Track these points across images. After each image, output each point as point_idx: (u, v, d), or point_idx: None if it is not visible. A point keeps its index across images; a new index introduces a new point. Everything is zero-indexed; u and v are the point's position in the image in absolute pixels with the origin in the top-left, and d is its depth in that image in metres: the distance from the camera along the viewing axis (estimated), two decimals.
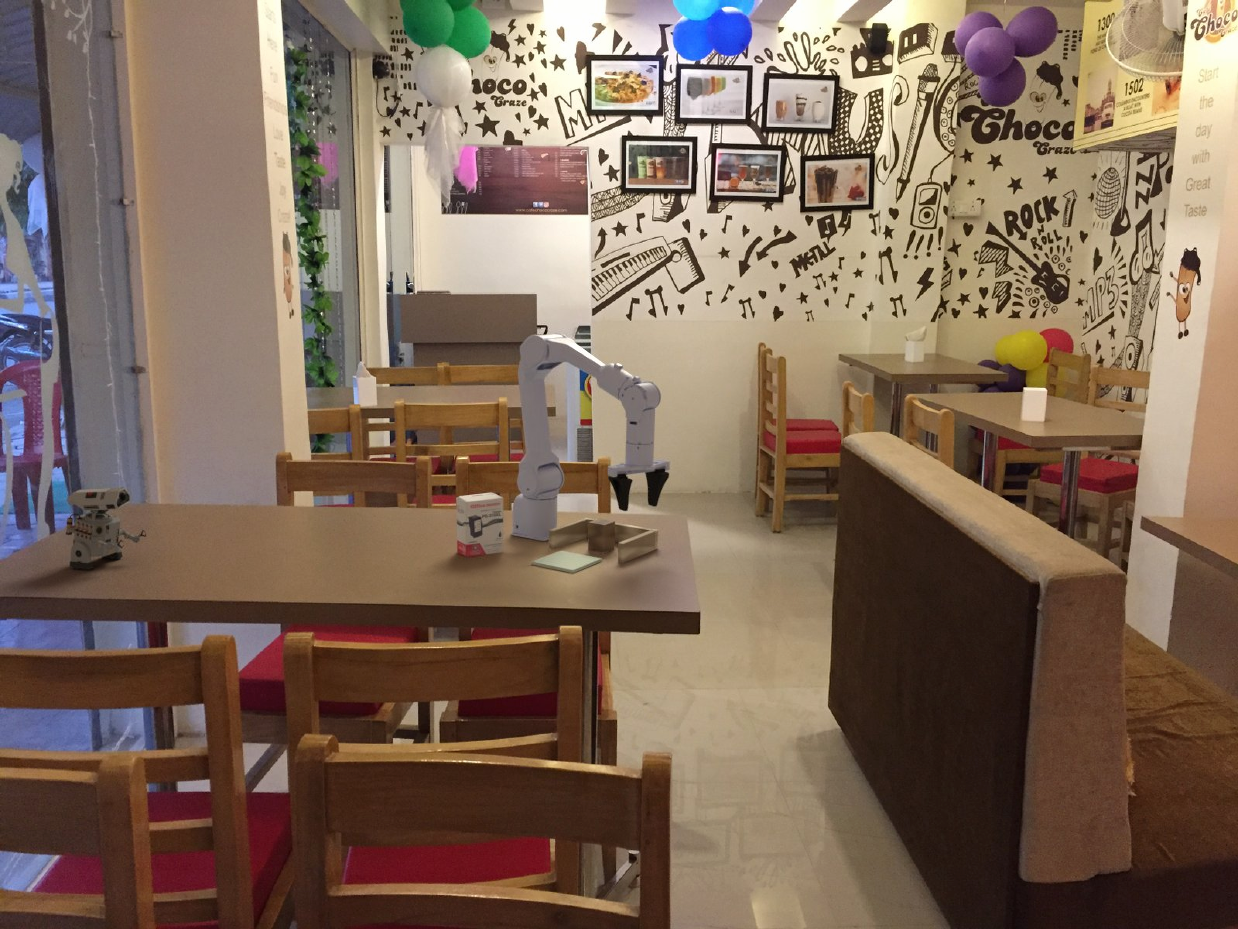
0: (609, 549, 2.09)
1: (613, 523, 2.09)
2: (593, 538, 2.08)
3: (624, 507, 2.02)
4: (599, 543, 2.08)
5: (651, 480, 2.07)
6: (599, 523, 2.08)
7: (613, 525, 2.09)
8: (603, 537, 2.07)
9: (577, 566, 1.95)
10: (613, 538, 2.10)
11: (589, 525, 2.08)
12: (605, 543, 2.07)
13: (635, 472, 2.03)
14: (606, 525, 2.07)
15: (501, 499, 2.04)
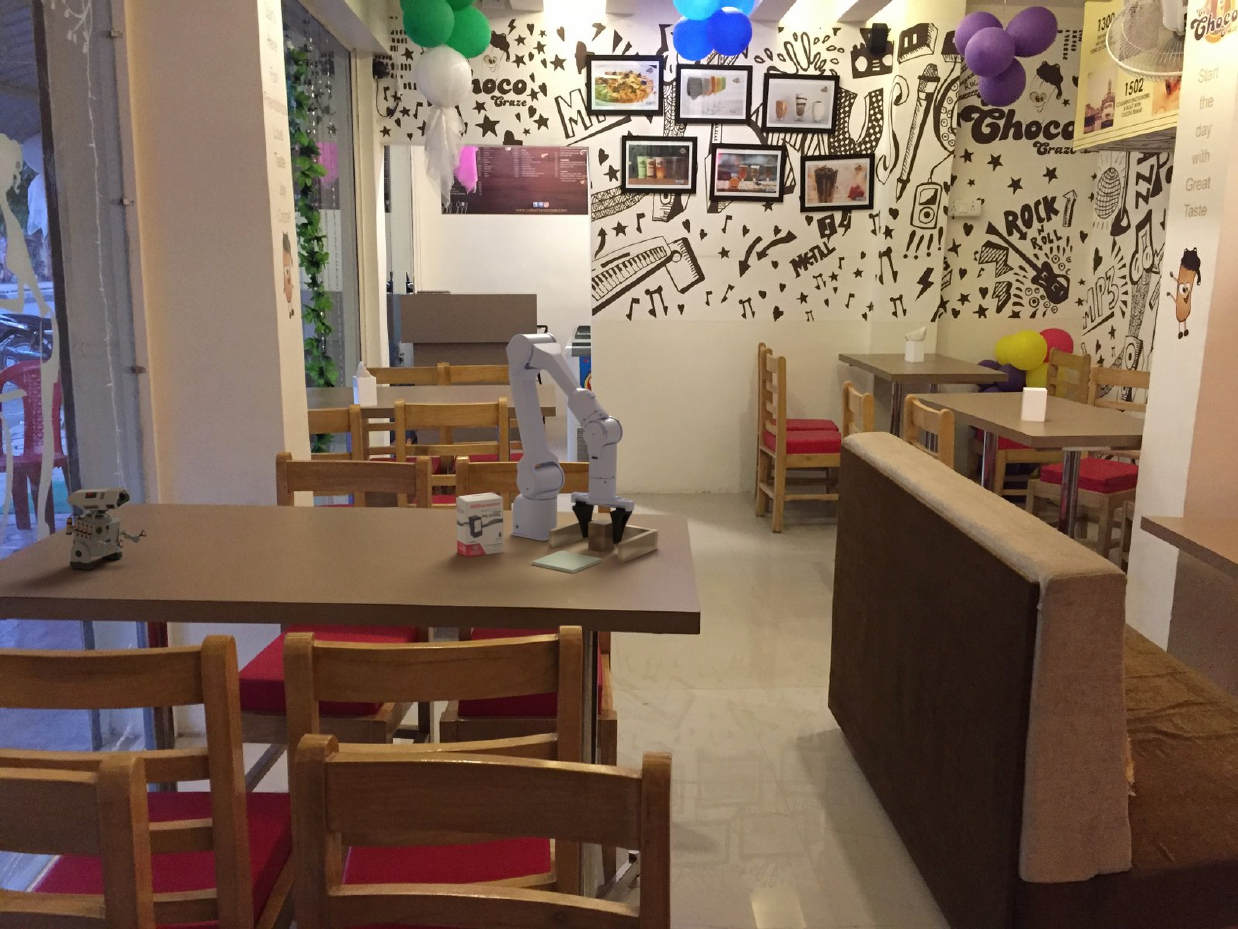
0: (609, 549, 2.09)
1: None
2: (593, 538, 2.08)
3: None
4: (599, 544, 2.08)
5: None
6: (599, 523, 2.08)
7: None
8: (603, 537, 2.07)
9: (577, 566, 1.95)
10: None
11: (589, 525, 2.08)
12: (605, 543, 2.07)
13: (596, 504, 2.09)
14: (606, 525, 2.07)
15: (501, 499, 2.04)
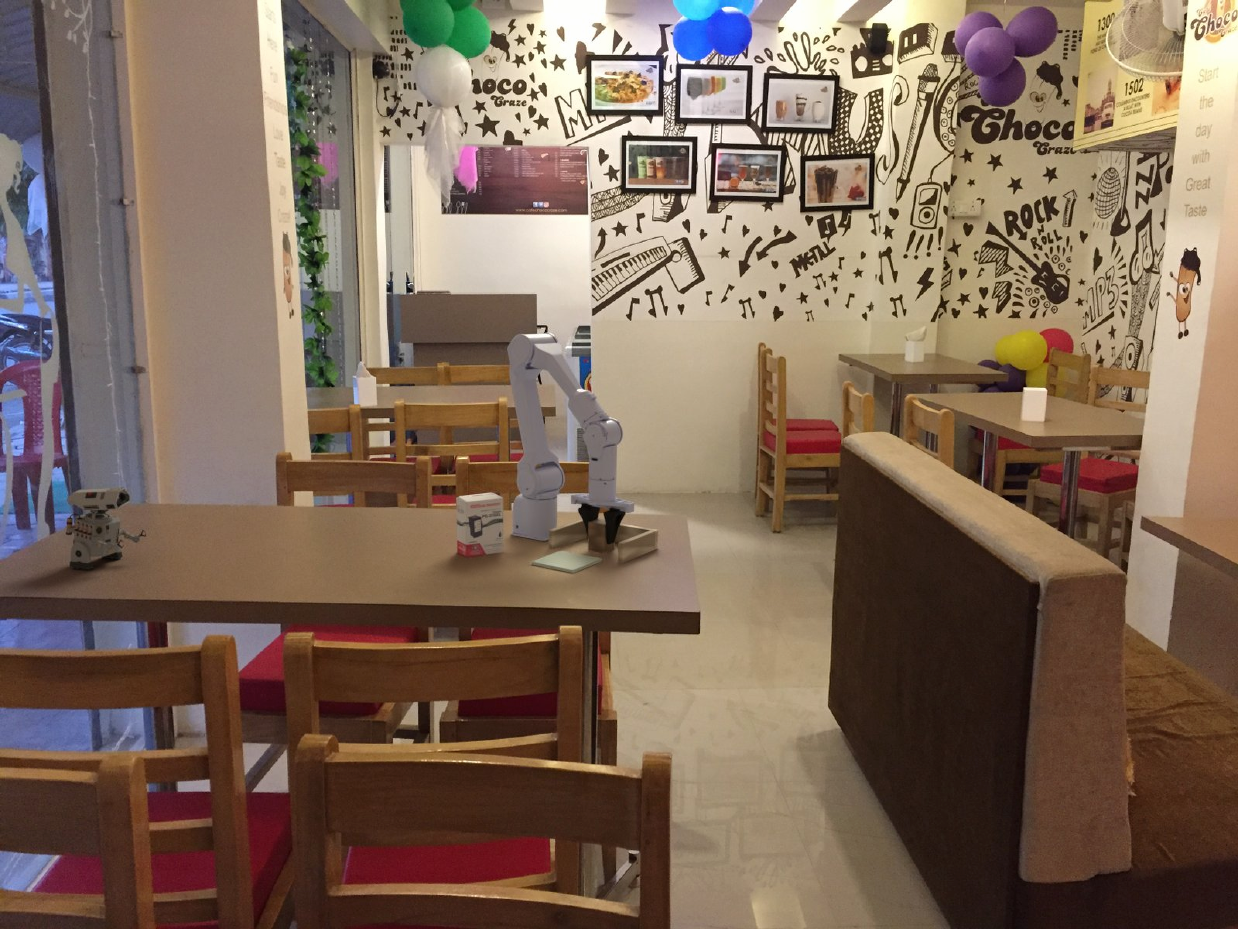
0: (609, 549, 2.09)
1: None
2: (593, 538, 2.08)
3: None
4: (599, 543, 2.08)
5: None
6: (599, 523, 2.08)
7: None
8: (603, 537, 2.07)
9: (577, 566, 1.95)
10: None
11: (589, 525, 2.08)
12: (605, 543, 2.07)
13: (596, 505, 2.09)
14: None
15: (501, 499, 2.04)
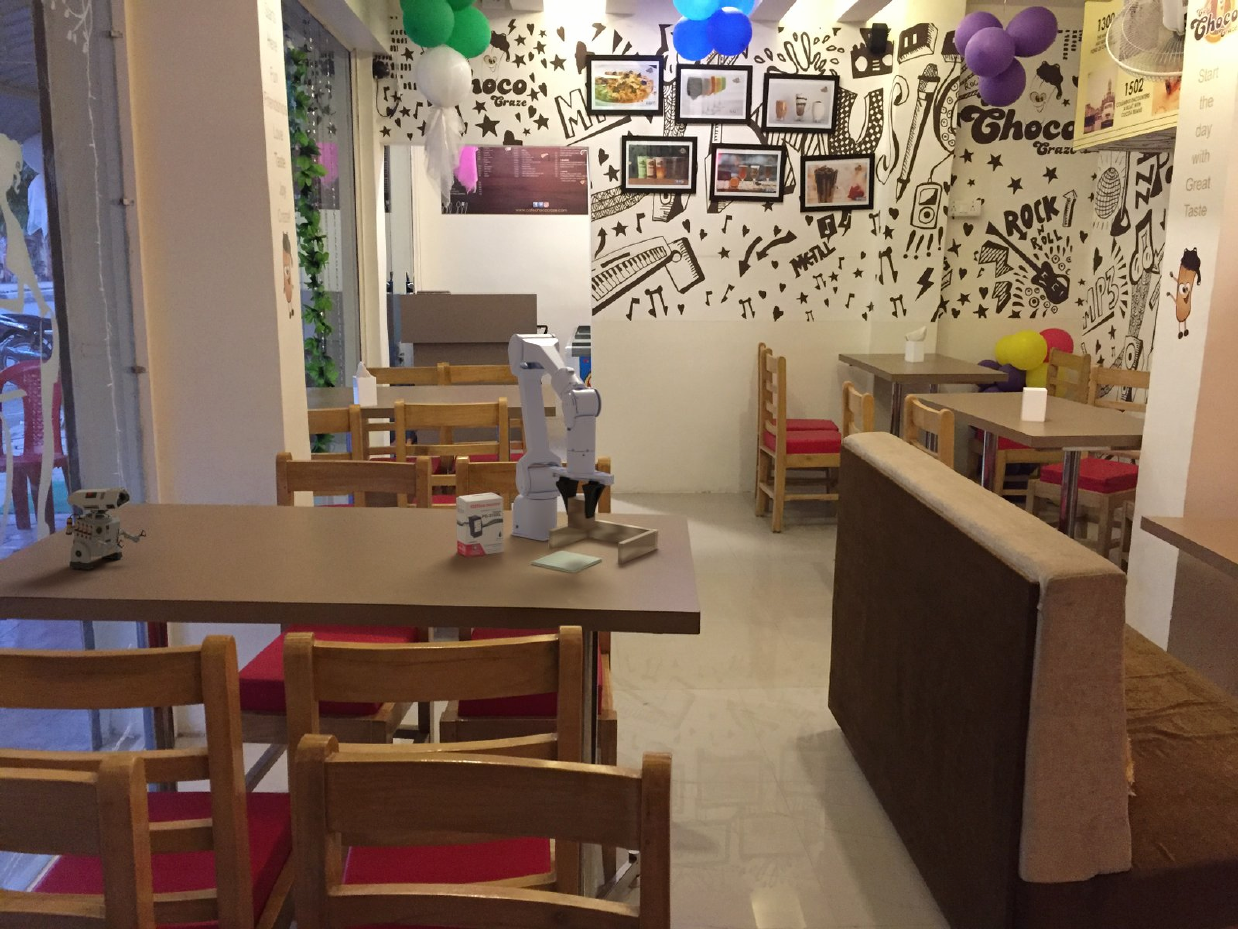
0: (589, 526, 2.01)
1: None
2: (572, 515, 2.01)
3: None
4: (579, 520, 2.00)
5: None
6: (579, 499, 2.00)
7: None
8: (583, 513, 1.99)
9: (577, 566, 1.95)
10: None
11: (568, 501, 2.01)
12: (585, 519, 2.00)
13: (574, 478, 2.01)
14: None
15: (501, 499, 2.04)
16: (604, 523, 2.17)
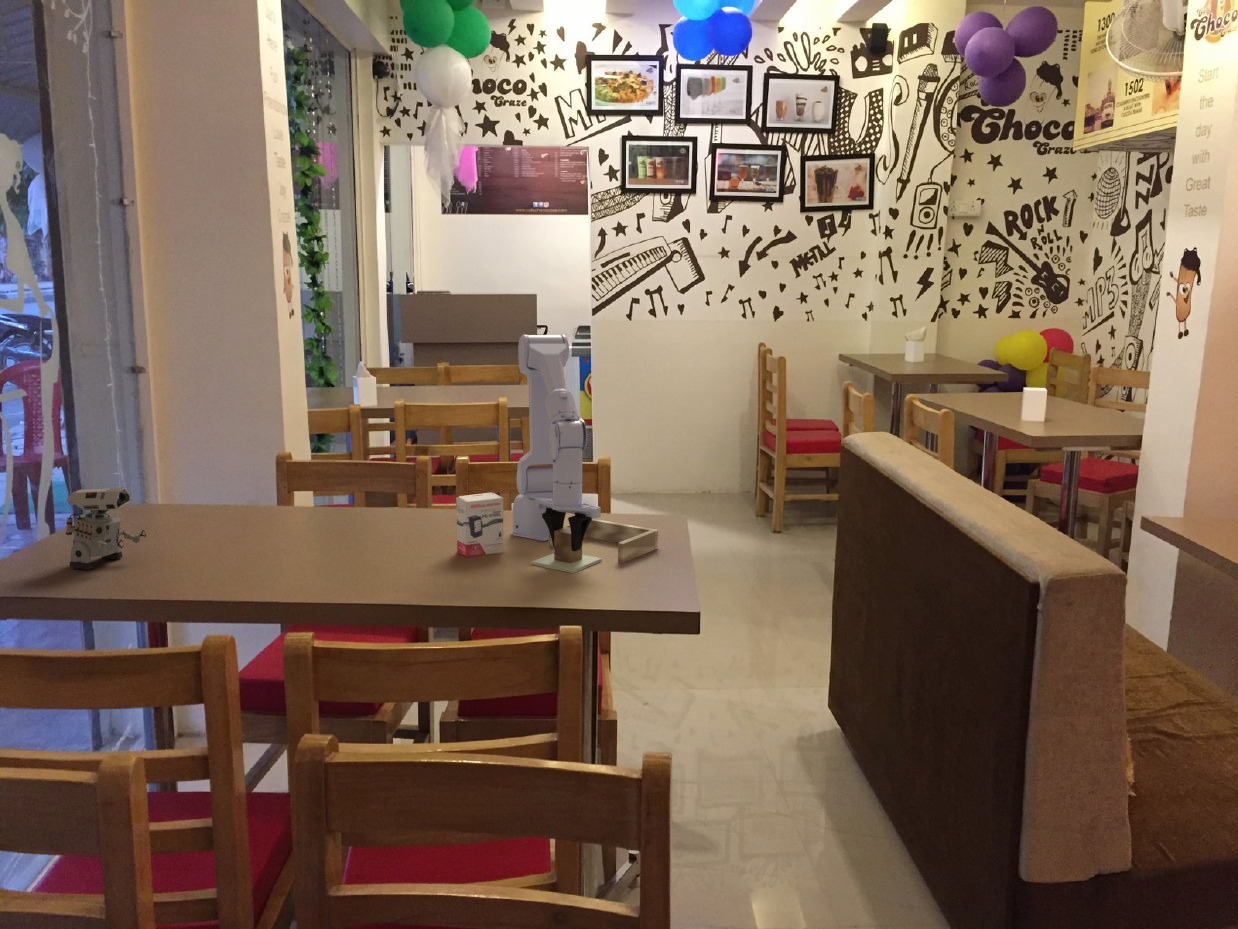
0: (576, 559, 1.99)
1: None
2: (559, 548, 1.98)
3: None
4: (565, 553, 1.98)
5: None
6: (565, 532, 1.97)
7: None
8: (569, 546, 1.97)
9: (577, 566, 1.95)
10: None
11: (555, 534, 1.98)
12: (572, 552, 1.97)
13: (561, 510, 1.98)
14: None
15: (501, 499, 2.04)
16: (604, 523, 2.17)
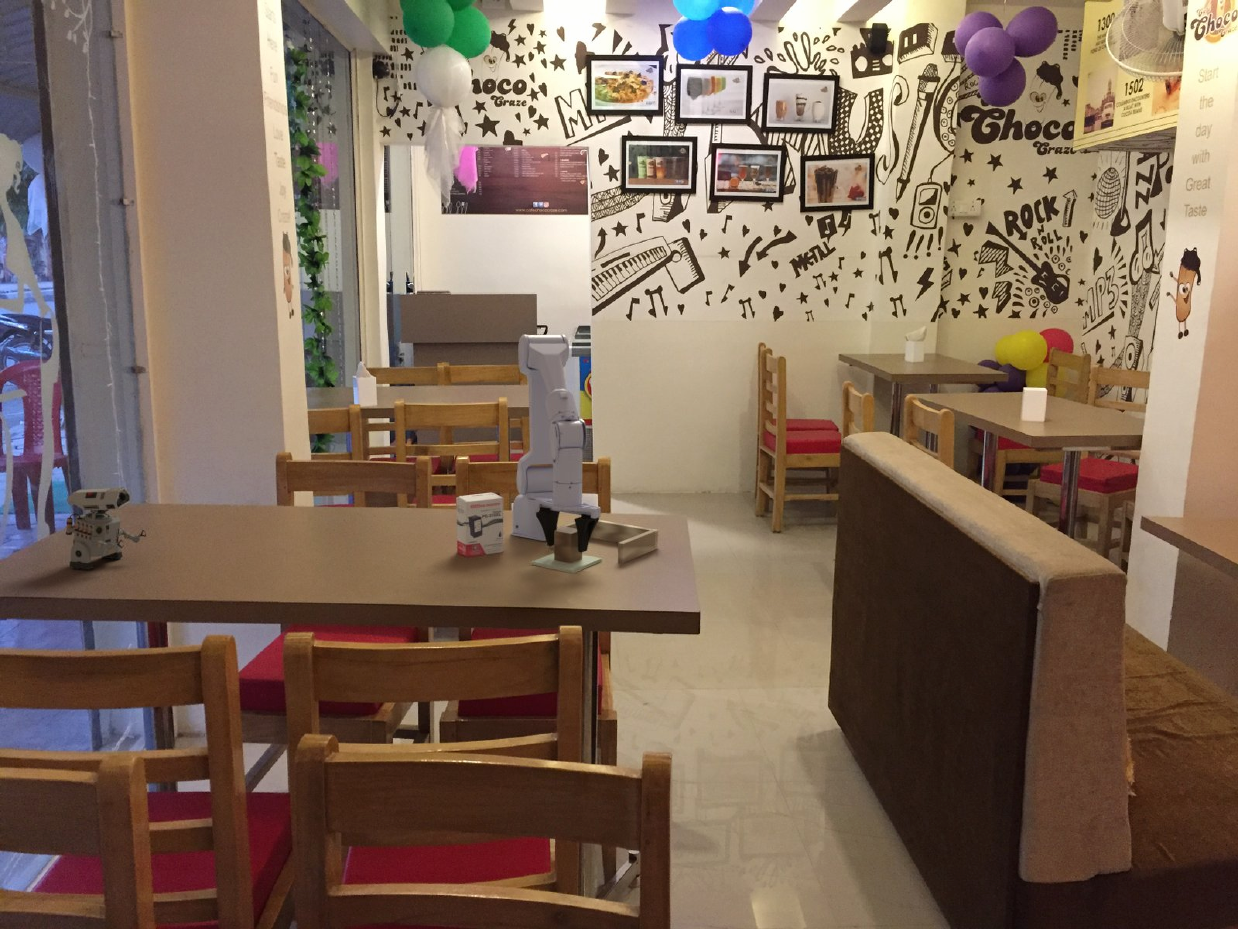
0: (576, 559, 1.99)
1: None
2: (559, 548, 1.98)
3: None
4: (565, 553, 1.98)
5: None
6: (565, 532, 1.97)
7: None
8: (569, 546, 1.97)
9: (577, 566, 1.95)
10: None
11: (555, 534, 1.98)
12: (572, 552, 1.97)
13: (561, 510, 1.98)
14: (573, 534, 1.97)
15: (501, 499, 2.04)
16: (604, 523, 2.17)
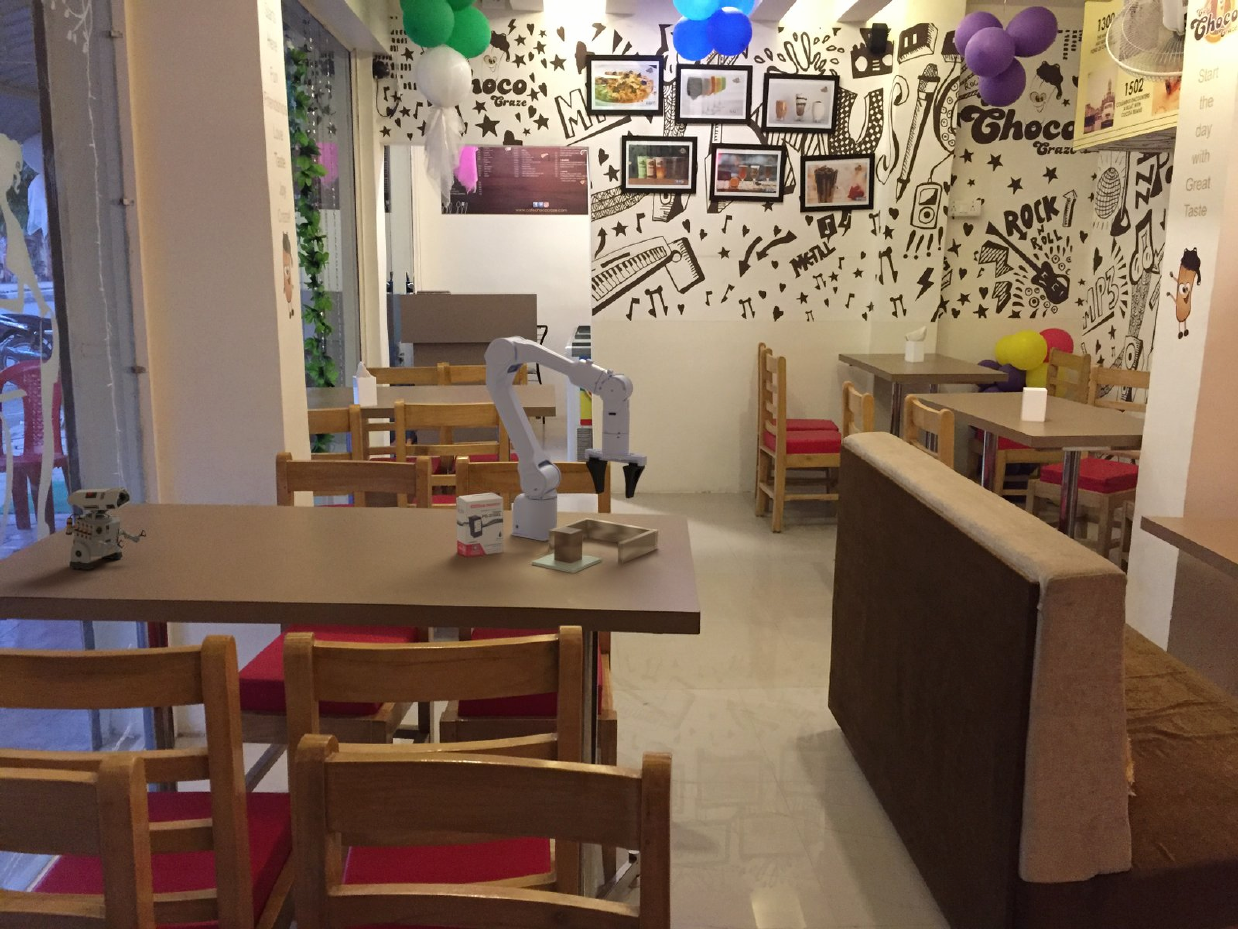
0: (576, 559, 1.99)
1: (580, 532, 1.99)
2: (559, 548, 1.98)
3: None
4: (565, 553, 1.98)
5: None
6: (565, 532, 1.97)
7: (580, 534, 1.99)
8: (569, 546, 1.97)
9: (577, 566, 1.95)
10: (580, 548, 2.00)
11: (555, 534, 1.98)
12: (572, 552, 1.97)
13: (609, 460, 2.13)
14: (573, 534, 1.97)
15: (501, 499, 2.04)
16: (604, 523, 2.17)
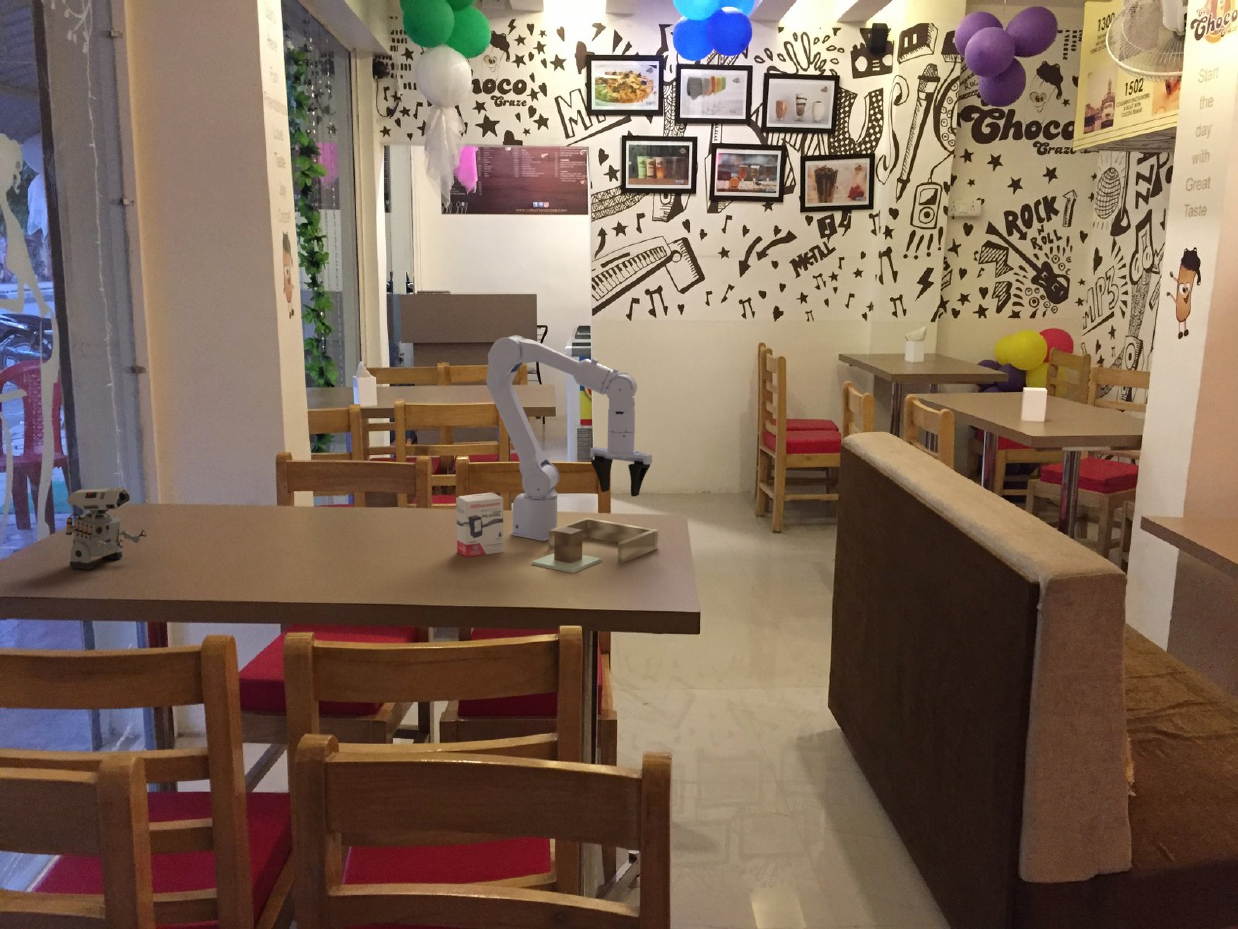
0: (576, 559, 1.99)
1: (580, 532, 1.99)
2: (559, 548, 1.98)
3: None
4: (565, 553, 1.98)
5: None
6: (565, 532, 1.97)
7: (580, 534, 1.99)
8: (569, 546, 1.97)
9: (577, 566, 1.95)
10: (580, 548, 2.00)
11: (555, 534, 1.98)
12: (572, 552, 1.97)
13: (615, 458, 2.15)
14: (573, 534, 1.97)
15: (501, 499, 2.04)
16: (604, 523, 2.17)
